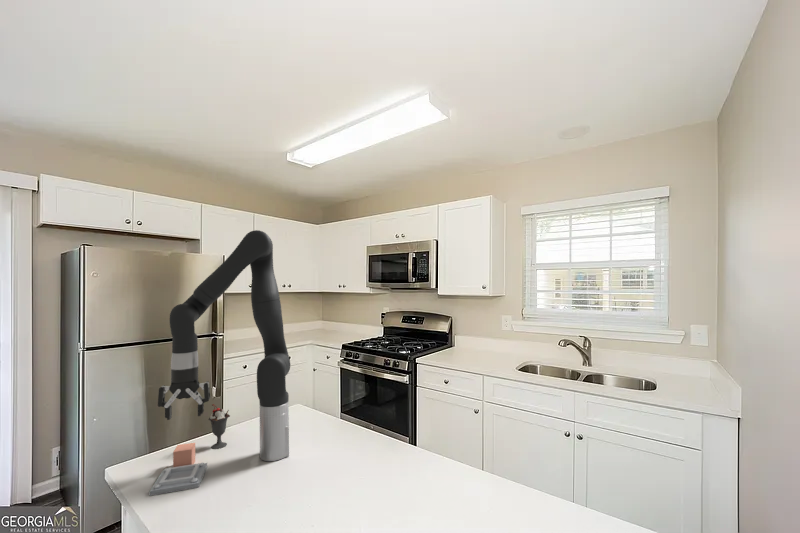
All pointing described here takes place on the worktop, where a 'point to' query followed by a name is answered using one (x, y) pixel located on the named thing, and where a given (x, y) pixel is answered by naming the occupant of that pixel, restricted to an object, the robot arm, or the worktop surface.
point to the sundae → (218, 426)
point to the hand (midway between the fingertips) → (184, 417)
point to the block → (184, 455)
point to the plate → (179, 478)
